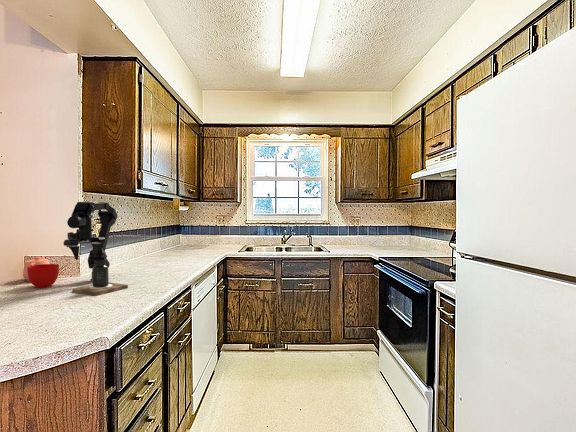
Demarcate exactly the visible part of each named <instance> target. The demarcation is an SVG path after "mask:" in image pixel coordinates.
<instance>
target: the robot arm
mask: <svg viewBox="0 0 576 432" xmlns="http://www.w3.org/2000/svg"><path fill="white" fill-rule="evenodd" d="M95 211H98V212H97V216H98V217H99V223H100V224H101V225H100V228H99V232H98V236H93V235H92V232H94V228H92V227H93V225H92V221H93V220H92V218H94V215H92V214H93V213H95ZM116 211H117V210H116V209H115V208H114V207H113V206H111V205H110V203H109V202H107V201H99V202H94V201H78V202H76V204H75V206H74V209H73V210H72V213H71V216H69V218H68V220H67V221H66V224H67V226H68V227H69V228H70V229H76V232H73V231H72V232H67V236H66V237H67V239H64V240H63V246H64V247H66V248H69V249H70V251H71V253H72V256H73V257H74V259H75V261H79V258H80V257H79V255H80V254H79V253H80V244H91V248H92V249H91V250H90V251H89V254H88V257H87V264H88V268H89V269H91V270H92V268H93V267H94V266H95V265H94V261H95V260H106V264H105V265H106V266H108V269H109V268H110V264H111V263H110V262H109V260H108V258H107V257H108V256H107V253H106V247H107V244H108V241H109V236H110V232H111V228H112V227H113V226H114V224H116V222H117V219H118V213H117V212H116ZM90 275H92V271H91V274H90ZM90 281H92V278H90Z"/></svg>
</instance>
